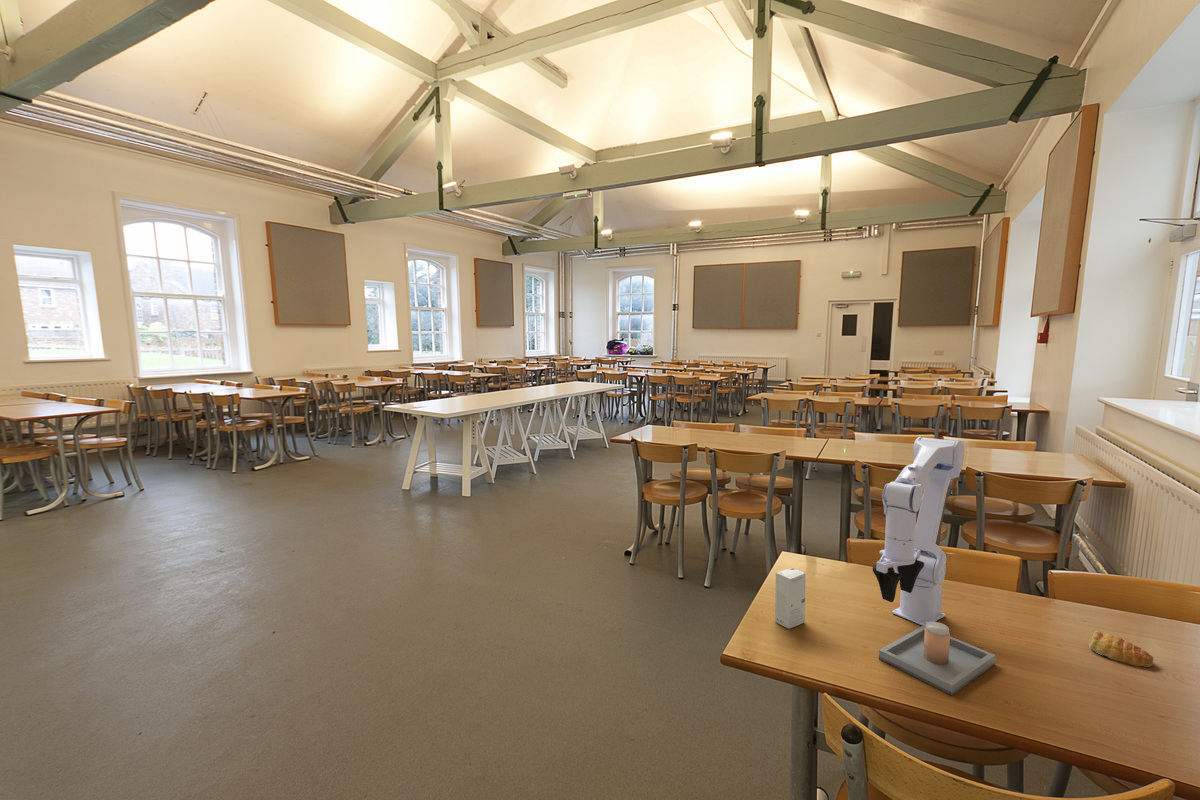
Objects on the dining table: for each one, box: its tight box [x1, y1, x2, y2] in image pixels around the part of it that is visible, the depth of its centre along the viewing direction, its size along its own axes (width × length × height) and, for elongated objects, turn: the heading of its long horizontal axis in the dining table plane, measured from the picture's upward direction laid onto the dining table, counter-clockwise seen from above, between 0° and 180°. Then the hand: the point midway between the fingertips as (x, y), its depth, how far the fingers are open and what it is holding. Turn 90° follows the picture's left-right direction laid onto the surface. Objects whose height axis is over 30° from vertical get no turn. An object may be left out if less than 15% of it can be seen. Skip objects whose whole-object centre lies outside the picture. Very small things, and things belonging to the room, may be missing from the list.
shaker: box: [924, 621, 951, 665], centre depth 109 cm, size 4×4×7 cm
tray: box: [878, 625, 996, 696], centre depth 109 cm, size 18×14×2 cm
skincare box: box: [774, 567, 806, 629], centre depth 125 cm, size 6×4×12 cm
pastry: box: [1088, 630, 1155, 668], centre depth 111 cm, size 9×7×4 cm
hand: (897, 595), depth 117 cm, fingers open, 7 cm apart
